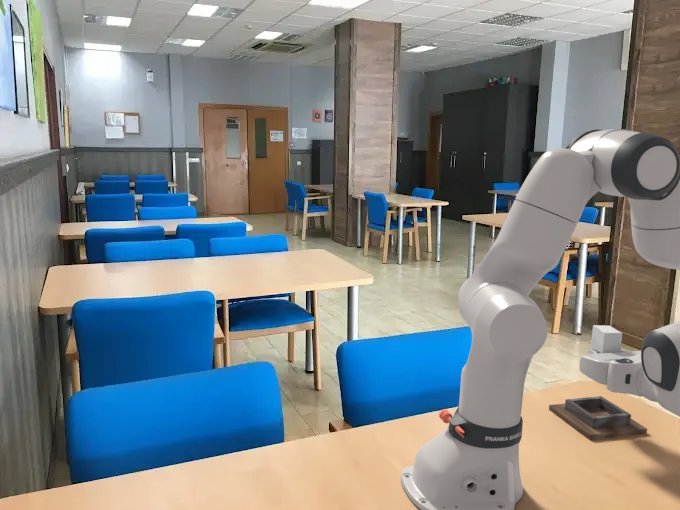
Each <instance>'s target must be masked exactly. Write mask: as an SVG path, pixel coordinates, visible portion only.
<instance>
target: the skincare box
mask: <svg viewBox="0 0 680 510" xmlns="http://www.w3.org/2000/svg"><path fill="white" fill-rule="evenodd" d="M591 331H592V333H591V342H590V349H589V350H594V349H595V350H597V351H599V353H614V352H620V351H621V350H622V349H621V348H622V341H623V332H621V331H620V330H617V329H616V328H614V327H613V326H611V325H602V324H601V325H599V324H598V325H597V324H596V325H595V324H594V325H592V330H591Z"/></svg>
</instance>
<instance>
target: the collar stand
mask: <svg viewBox="0 0 680 510" xmlns="http://www.w3.org/2000/svg"><path fill="white" fill-rule="evenodd" d="M548 410H549V411H550V412H551V411H552V412H551V413H553V414H554V415H555V414H556V415H555V416H557V417H558V418H560V419H561V420H562V421H563V422H565V423H566V424H567V425H569V426H570V427H571V428H573V429H574V430H575V431H577V432H578V433H580V434H581V435H582V436H583V437H585V438H586V439H588V440H589V441H593V440H603V439H611V438H613V439H614V438H620V437H628V436H638V435H645V434H647V432H648V428H647V427H646V426H643V425H642V424H640V423H638V422H637V421H636V420H634V419H633V418H632V414H630V413H629V412H627V411H626V410H624V409H623V408H622V407H620V406H618V405H616V404H614V403H613V402H612V401H610V400H608V399H607V398H605V397H604V396H601V395H600V396H587V397H586V396H585V397H577V398H567V399H565V402H564V403H557V404H549V407H548Z"/></svg>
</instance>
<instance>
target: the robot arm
mask: <svg viewBox="0 0 680 510" xmlns="http://www.w3.org/2000/svg"><path fill="white" fill-rule="evenodd" d="M598 192H600V193H602V194H604V195H607V196H613V197H622V198H627V200H628V202H629V207H630V208H629V209H630V210H629V211H630V213H629V214H630V225H631V226H630V227H631V236H632V237H631V238H632V242H633V246H634V248H635V251H636V252H637V254H638V255H639V256H640V257H641V258H642V259H643V260H645V261H647V263H650V264H652V265H654V266H657V267H661V268H665V269H671V270H678V271H679V270H680V154H679V151H678V149H677V146H675V145H674V144H673V142H672V141H670V139H668V138H667V137H665V136H662V135H660V134H656V133H652V132H647V131H646V132H639V131H633V130H629V129H624V128H621V129H619V128H615V129H614V128H613V129H591V130H587V131H586V132H582V133H581V134H578V135H577V136H575V137H574V138H573V139H571V141H570V142H569V143H567V146H565V148H564V147H563V148H562V147H558V148H557V147H556V148H552V149H548V150H547V151H545V152H544V153H542V155H541V156H540V157H539V159H537V161H536V162H535V164H534V165H533V167H532V169H531V170H530V171H529V173H528V175H527V176H526V178H525V180H524V182H523V183H522V185H521V186H520V189H519V191H518V192H517V194H516V196H515V199H514V200H513V203H512V204H511V207H510V209H509V212H508V213H507V215H506V218H505V220H504V223H503V225H502V226H501V228H500V230H499V233H498V235H497V237H496V239H495V240H494V242H493V244H491V247H490V249H489V250H488V251H487V253H486V254H485V256H484V257H483V259H482V261H480V263H479V264H478V266H477V267H476V269H475V270H474V272H473V274H472V275H471V276H470V277H468V278H467V279H466V280H465V281H464V282H462V284H461V286H460V288H459V289H458V294H457V300H458V301H457V303H458V305H457V306H458V309H459V310H458V311H459V313H460V316H461V317H462V319H463V321H464V322H465V323H466V325H468V327H469V328H470V332H471V347H470V350H469V353H468V358H467V360H466V363H465V364H464V366H463V367H462V369H461V373H460V374H461V375H460V388H459V389H460V390H459V401H458V407H457V409H456V410H455V412H454V413H453V415H452V413H450V412H449V410H448V409H446V408H443V409H442V410H440V411H439V413H438V417H439V419H440V420H442V422H443V423H445V424H449V425H448V426H447V427H448V428H446V429H444V430H443V431H442V432H440V433H439V434H437V436H435V437H434V438H432V439H430V440H429V441H427V442H426V443H424V444H423V445H421V447H420V448H419V449H418V451H417V452H416V456H415V458H414V459H415V460H414V462H413V463H414V464H413V465H409V466H405V467H404V468H403V469H402V471H401V475H400V481H401V485H402V488H403V490H404V492H405V494H406V495H407V496H408V498H409V500H411V502H412V503H413V504H414V505H415V506H416V507H417V508H418V509H420V510H516V504H517V502H519V501H520V500H521V498H522V497H523V494H524V488H523V484H522V478H521V471H520V470H521V469H520V457H519V456H520V443H521V440H522V436H523V435H522V434H523V423H524V421H523V420H524V419H523V417H522V409H523V408H522V407H523V397H524V391H525V390H524V389H525V383H526V378H527V374H528V370H529V368H530V365H531V363H532V359H533V357H534V355H536V354H537V353H538V352H539V351H540V350H541V348H542V347H543V346H544V345H545V342H546V340H547V336H548V324H547V321H546V319H545V316H544V314H543V312H542V311H541V309H540V307H539V306H538V304H537V303H536V302H535V301H534V299H532V298H531V297H530V296H529V295H530V294H531V292H533V291H532V290H533V289H534V288H535V287H537V284H539V282H540V281H541V280H542V278H544V276H545V275H546V274H547V273H549V272H551V271H552V270H554V269H555V268H556V267H557V266H558V264H559V263H560V261H561V258H562V256H563V255H564V253H565V250H566V248H567V246H568V244H569V242H570V240H571V238H572V236H573V234H574V232H575V229H576V228H577V224H579V221H580V219H581V217H582V216H583V215H582V214H583V213H584V209H585V207H586V205H587V203H589V201H590V200H591V199H592V197H594V196H595V195H596V194H597V193H598ZM578 366H579V371H580V372H581V373H582V374H583V375H585V376H586V377H588V378H590V379H592V381H595V382H596V383H598V384H601V385H603V386H606V389H607V390H608V391H610V392H612V393H616V394H617V393H619V394H626V395H627V394H629V395H634V396H637V397H639V398H640V397H643V398H645V399H646V400H648V401H651V402H654V403H658V404H659V406H661V408H663V409H664V410H666V411H668V412H670V413H671V414H673V415H676V416H677V417H679V418H680V321H676V322H674V323H670V324H667V325H664V326H661V327H659V328H657V329H654V330H651V331H649V332H647V333H646V334H645V335H644V338H643V340H642V343H641V349H640V350H631V351H630V350H624V349H621V351H620V352H614V353H599V351H597V350H595V349H594V350H590V349H588V351H587V354H586V353H585V354H581V356H580V359H579V365H578Z"/></svg>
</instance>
